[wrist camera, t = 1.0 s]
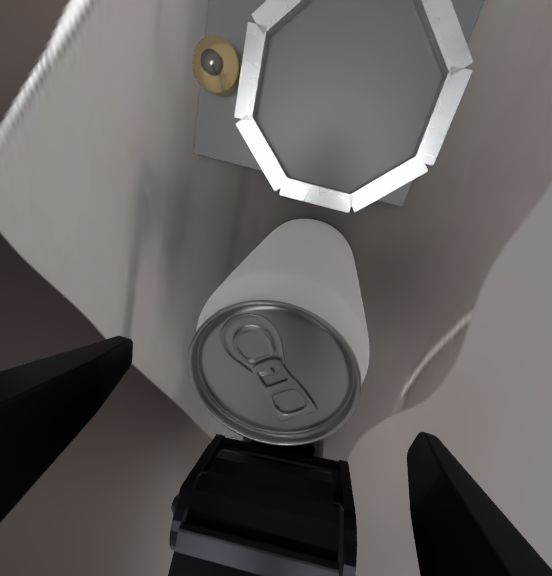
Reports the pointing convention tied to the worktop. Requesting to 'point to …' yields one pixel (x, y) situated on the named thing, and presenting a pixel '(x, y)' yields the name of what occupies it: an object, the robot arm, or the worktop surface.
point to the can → (284, 339)
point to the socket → (452, 61)
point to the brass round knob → (217, 65)
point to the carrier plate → (332, 89)
